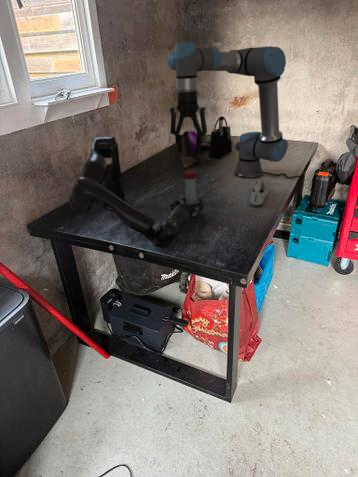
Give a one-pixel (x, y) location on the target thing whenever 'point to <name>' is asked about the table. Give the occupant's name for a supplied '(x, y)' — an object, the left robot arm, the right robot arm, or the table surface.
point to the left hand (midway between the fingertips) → (192, 199)
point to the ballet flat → (258, 193)
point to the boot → (187, 151)
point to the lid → (190, 174)
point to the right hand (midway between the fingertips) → (189, 151)
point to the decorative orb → (193, 140)
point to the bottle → (190, 192)
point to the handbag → (220, 140)
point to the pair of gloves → (207, 142)
